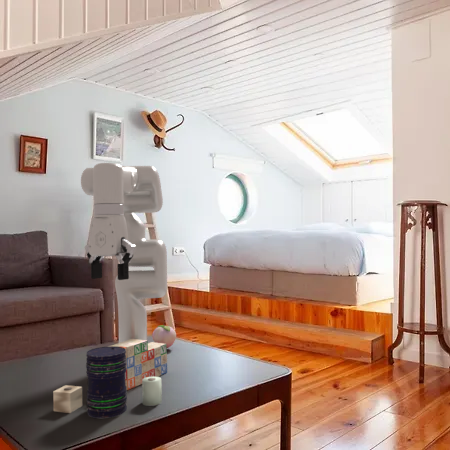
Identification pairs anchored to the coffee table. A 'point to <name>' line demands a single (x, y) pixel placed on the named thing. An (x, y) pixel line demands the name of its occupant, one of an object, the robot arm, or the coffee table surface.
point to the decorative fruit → (164, 335)
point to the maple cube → (67, 398)
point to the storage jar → (106, 382)
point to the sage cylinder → (151, 391)
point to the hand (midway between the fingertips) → (109, 278)
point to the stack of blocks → (143, 360)
